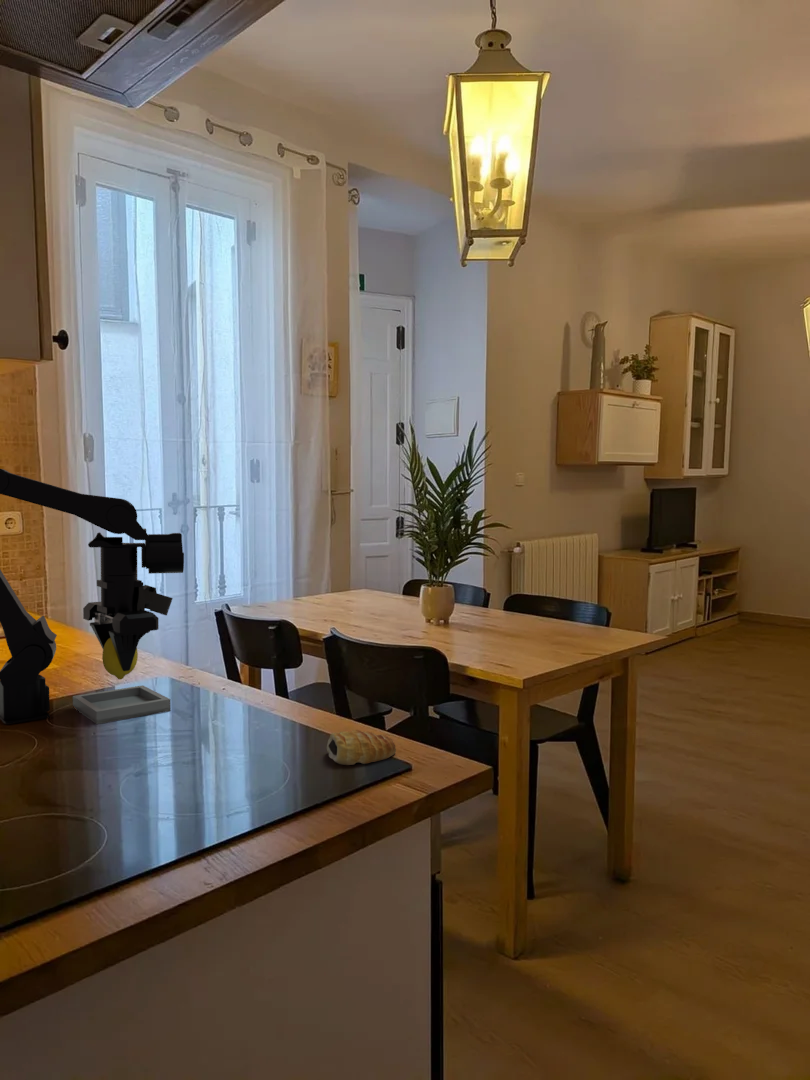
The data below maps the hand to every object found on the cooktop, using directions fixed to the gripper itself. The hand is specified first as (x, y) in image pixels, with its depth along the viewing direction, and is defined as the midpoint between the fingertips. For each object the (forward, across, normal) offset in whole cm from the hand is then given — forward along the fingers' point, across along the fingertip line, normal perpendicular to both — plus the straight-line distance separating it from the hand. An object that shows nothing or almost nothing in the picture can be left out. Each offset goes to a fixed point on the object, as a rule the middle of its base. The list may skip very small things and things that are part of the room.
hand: (119, 667), depth 130 cm
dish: (+7, 0, 0) cm, 7 cm away
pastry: (+7, -44, -17) cm, 47 cm away
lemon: (+2, 0, 0) cm, 2 cm away
